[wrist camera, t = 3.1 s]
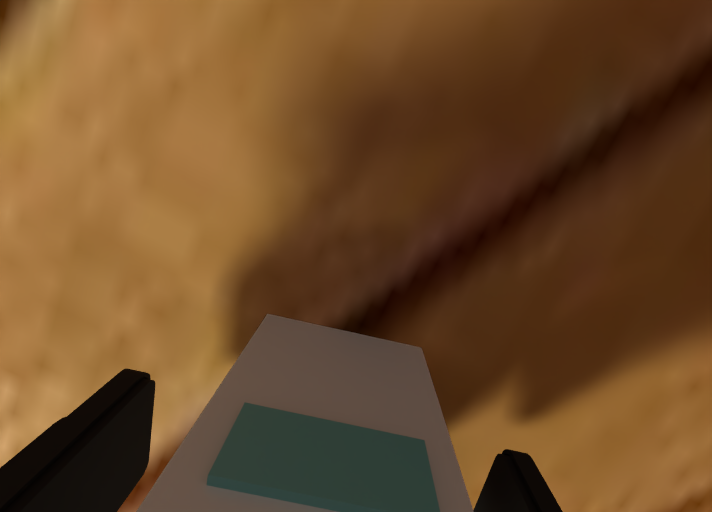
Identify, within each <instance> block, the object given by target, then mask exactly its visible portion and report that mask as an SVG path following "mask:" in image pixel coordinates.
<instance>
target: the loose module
mask: <svg viewBox="0 0 712 512" xmlns="http://www.w3.org/2000/svg"><path fill="white" fill-rule="evenodd" d="M136 512H473V509H472V505H471V502H470V499H469V496H468V493H467V490H466V486H465V483H464V480H463V477H462V474H461V471H460V467H459V464H458V461H457V458H456V455H455V452H454V448H453V445H452V442H451V439H450V436H449V433H448V429H447V426H446V423H445V420H444V417H443V414H442V410H441V407H440V404H439V401H438V398H437V395H436V391H435V388H434V385H433V382H432V379H431V376H430V372H429V369H428V366H427V363H426V360H425V357H424V354H423V350H422V348H421V347H417V346H412V345H408V344H403V343H399V342H394V341H390V340H385V339H380V338H376V337H371V336H367V335H362V334H358V333H353V332H349V331H344V330H340V329H335V328H330V327H326V326H321V325H317V324H312V323H308V322H303V321H299V320H294V319H290V318H285V317H280V316H276V315H271V314H267V315H266V317H265V318H264V320H263V321H262V323H261V324H260V326H259V327H258V329H257V330H256V332H255V333H254V335H253V336H252V338H251V339H250V341H249V342H248V344H247V345H246V347H245V348H244V350H243V351H242V353H241V354H240V356H239V357H238V359H237V360H236V362H235V363H234V365H233V366H232V368H231V369H230V371H229V372H228V374H227V375H226V377H225V378H224V380H223V381H222V383H221V384H220V386H219V387H218V389H217V390H216V392H215V394H214V395H213V397H212V398H211V400H210V401H209V403H208V404H207V406H206V407H205V409H204V410H203V412H202V413H201V415H200V416H199V418H198V419H197V421H196V422H195V424H194V425H193V427H192V428H191V430H190V431H189V433H188V434H187V436H186V437H185V439H184V440H183V442H182V443H181V445H180V446H179V448H178V449H177V451H176V452H175V454H174V455H173V457H172V458H171V460H170V461H169V463H168V464H167V466H166V467H165V469H164V470H163V472H162V474H161V475H160V477H159V478H158V480H157V481H156V483H155V484H154V486H153V487H152V489H151V490H150V492H149V493H148V495H147V496H146V498H145V499H144V501H143V502H142V504H141V505H140V507H139V508H138V510H137V511H136Z"/></svg>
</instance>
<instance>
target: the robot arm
mask: <svg viewBox="0 0 712 512" xmlns="http://www.w3.org/2000/svg"><path fill="white" fill-rule="evenodd" d="M154 394H155V381H153V380H150V374H148V373H145V372H141V371H136V370H131V369H124V370H122V371H121V372H120V373H118V374H117V375H116V376H115V377H114V378H112V379H111V380H110V381H109V382H108V383H106V384H105V385H104V386H103V387H102V388H100V389H99V390H98V391H97V392H96V393H94V394H93V395H92V396H91V397H90V398H88V399H87V400H86V401H85V402H84V403H83V404H81V405H80V406H79V407H78V408H77V409H75V410H74V411H73V412H72V413H71V414H69V415H68V416H67V417H64V418H62V419H60V420H59V421H57V422H56V423H54V424H53V425H52V426H51V427H49V428H48V429H47V430H46V431H45V432H43V433H42V434H41V435H40V436H38V437H37V438H36V439H35V440H34V441H32V442H31V443H30V444H29V445H28V446H26V447H25V448H24V449H23V450H22V451H20V452H19V453H18V454H17V455H15V456H14V457H13V458H12V459H11V460H9V461H8V462H7V463H6V464H5V465H3V466H2V467H1V468H0V512H117V511H118V509H119V508H120V506H121V505H122V504H123V502H124V501H125V500H126V498H127V497H128V495H129V494H130V493H131V491H132V490H133V488H134V487H135V486H136V484H137V483H138V481H139V480H140V479H141V477H142V476H143V474H144V472H145V470H146V468H147V465H148V461H149V452H150V440H151V429H152V417H153V406H154ZM473 512H562V510H561V508H560V506H559V505H558V503H557V501H556V499H555V498H554V496H553V494H552V492H551V491H550V489H549V487H548V485H547V484H546V482H545V480H544V478H543V477H542V475H541V473H540V471H539V470H538V468H537V466H536V465H535V463H534V461H533V459H532V458H531V456H530V455H528V454H527V453H522V452H518V451H513V450H508V449H505V450H504V451H503V452H502V454H498V455H497V456H496V457H495V460H494V462H493V465H492V467H491V469H490V472H489V474H488V477H487V479H486V482H485V484H484V486H483V489H482V491H481V494H480V496H479V498H478V501H477V503H476V506H475V508H474V510H473Z"/></svg>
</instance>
